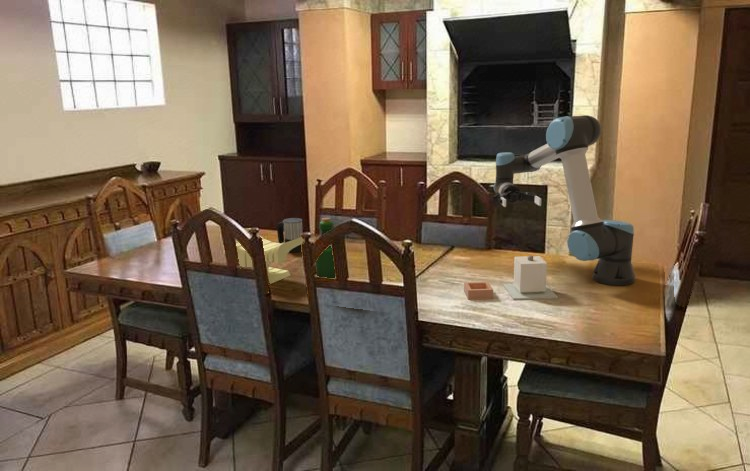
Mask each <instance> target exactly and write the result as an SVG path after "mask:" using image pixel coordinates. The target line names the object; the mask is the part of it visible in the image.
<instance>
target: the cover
mask: <svg viewBox="0 0 750 471" xmlns="http://www.w3.org/2000/svg"><path fill="white" fill-rule="evenodd" d="M547 272H548V263H547V261H545V259H544V258H542V257H541V256H540V255H528V256H527V255H526V256H525V255H524V256H514V263H513V283H514V285H515V286H516V288H517V289H518V290H519V292H523V293H535V292H539V291H546V285H547Z"/></svg>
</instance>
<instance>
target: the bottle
mask: <svg viewBox="0 0 750 471" xmlns="http://www.w3.org/2000/svg"><path fill="white" fill-rule="evenodd" d="M318 227H319V229H320V233H321V234H319V235H318V236H317V237H316V238H315V239H314V241H315V240H316V239H317V238H318V237H319V236H321V235H323V234H324V233H326V232H327V231H329V230H331V229H332V230H333V229H334V228H335V226H334V223H333V220H331V217H322V218H321V221H319V226H318ZM316 270H317V274H316V277H317V276H319V277H327V278H335V269H334V261H333V255H332V248H331V246H329V247H328V248H327V249H326V250H324V251H323V253H322V254H321V255H320V256H319V258H318V260H317V261H316V265H315V271H316Z"/></svg>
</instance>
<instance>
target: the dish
mask: <svg viewBox="0 0 750 471" xmlns="http://www.w3.org/2000/svg"><path fill="white" fill-rule="evenodd" d="M463 293H464V294H465V296H466V298H467V300H469V301H470V300H472V299H473V300H474V299H475V300H493V299H494V289H493V287H492V286H491V283H490V282H489V281H465V282H463Z"/></svg>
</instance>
